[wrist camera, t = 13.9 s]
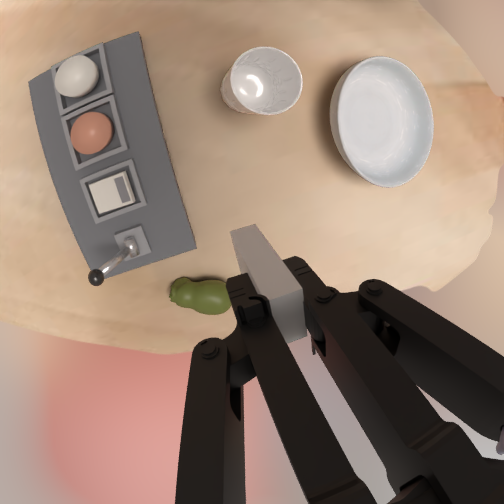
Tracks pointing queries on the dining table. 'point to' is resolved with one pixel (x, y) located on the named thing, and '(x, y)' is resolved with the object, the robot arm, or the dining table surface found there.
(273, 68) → the white cup
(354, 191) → the dining table surface
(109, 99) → the switch panel
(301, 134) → the dining table surface
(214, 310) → the green rounded piece
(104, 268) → the toggle lever
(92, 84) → the cream button
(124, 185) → the rocker switch
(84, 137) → the terracotta button
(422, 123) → the serving bowl
